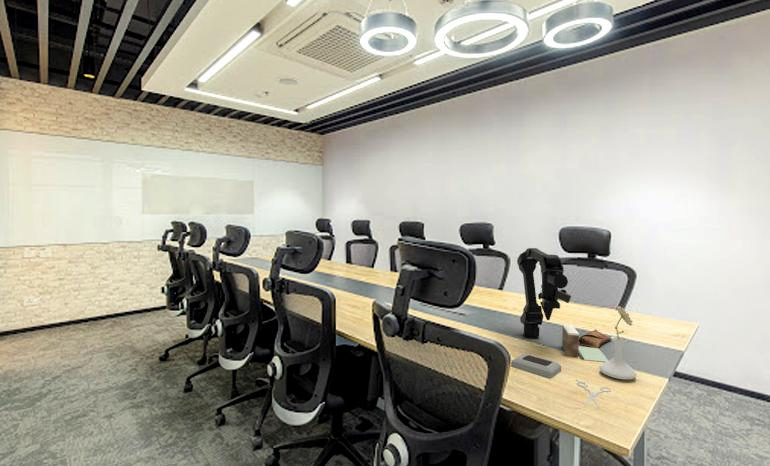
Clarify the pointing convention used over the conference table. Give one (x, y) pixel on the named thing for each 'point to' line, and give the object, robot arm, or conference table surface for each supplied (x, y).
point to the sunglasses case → (593, 339)
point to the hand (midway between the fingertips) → (548, 319)
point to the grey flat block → (536, 365)
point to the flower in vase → (619, 354)
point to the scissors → (593, 395)
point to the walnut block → (570, 341)
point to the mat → (591, 354)
